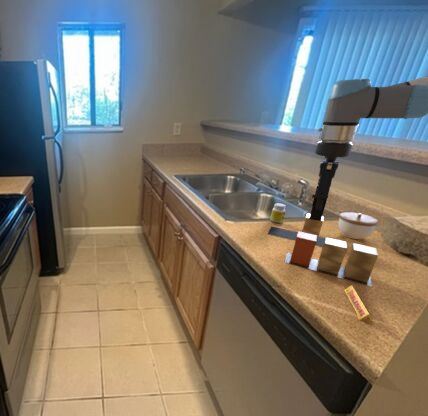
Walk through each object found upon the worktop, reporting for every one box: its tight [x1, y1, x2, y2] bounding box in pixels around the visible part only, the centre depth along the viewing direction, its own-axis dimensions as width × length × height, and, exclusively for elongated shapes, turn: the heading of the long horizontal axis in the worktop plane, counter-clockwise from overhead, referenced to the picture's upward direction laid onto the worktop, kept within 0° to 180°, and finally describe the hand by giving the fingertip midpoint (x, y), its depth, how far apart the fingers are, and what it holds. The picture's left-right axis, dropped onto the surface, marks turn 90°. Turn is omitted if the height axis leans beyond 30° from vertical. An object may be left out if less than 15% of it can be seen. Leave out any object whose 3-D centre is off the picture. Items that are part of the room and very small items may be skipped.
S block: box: [290, 231, 317, 267], centre depth 88 cm, size 5×5×9 cm
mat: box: [267, 225, 326, 248], centre depth 105 cm, size 18×9×1 cm, turn 51°
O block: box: [301, 213, 325, 243], centre depth 101 cm, size 5×5×9 cm
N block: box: [344, 242, 379, 283], centre depth 80 cm, size 5×5×9 cm
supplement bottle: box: [269, 202, 286, 226], centre depth 116 cm, size 5×5×8 cm
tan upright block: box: [317, 236, 348, 275], centre depth 83 cm, size 5×5×9 cm
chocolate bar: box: [344, 284, 374, 324], centre depth 70 cm, size 3×12×2 cm, turn 155°
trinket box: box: [337, 212, 379, 240], centre depth 103 cm, size 11×11×9 cm
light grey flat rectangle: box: [284, 252, 373, 288], centre depth 85 cm, size 21×8×1 cm, turn 51°
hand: (316, 212), depth 83 cm, fingers open, 13 cm apart
